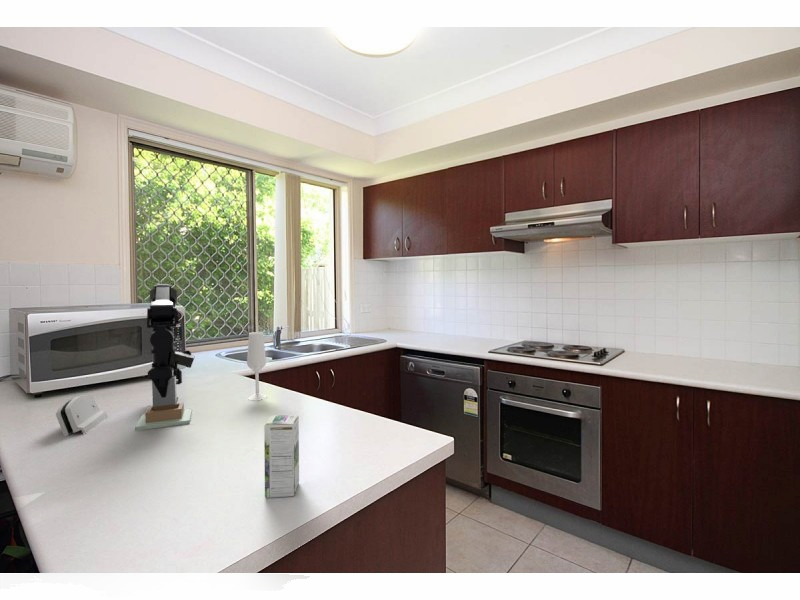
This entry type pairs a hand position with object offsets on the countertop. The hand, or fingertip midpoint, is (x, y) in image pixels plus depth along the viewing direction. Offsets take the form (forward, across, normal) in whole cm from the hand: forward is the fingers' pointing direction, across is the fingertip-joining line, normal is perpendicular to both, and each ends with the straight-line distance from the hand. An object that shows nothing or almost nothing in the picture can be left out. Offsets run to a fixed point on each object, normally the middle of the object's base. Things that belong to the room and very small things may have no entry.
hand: (164, 395), depth 127 cm
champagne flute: (+8, +14, -28) cm, 32 cm away
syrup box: (+8, -61, -27) cm, 67 cm away
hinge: (+8, +5, +22) cm, 24 cm away
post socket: (+8, 0, 0) cm, 8 cm away
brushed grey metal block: (+2, 0, 0) cm, 2 cm away
